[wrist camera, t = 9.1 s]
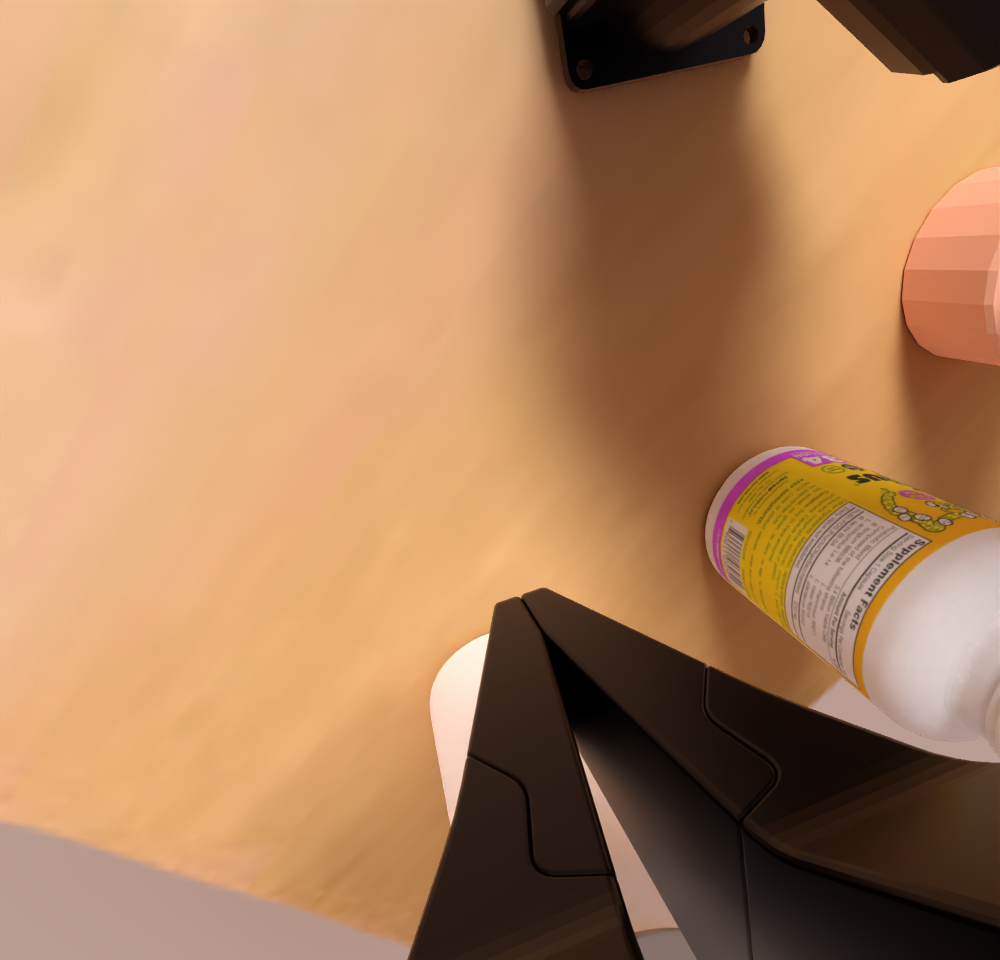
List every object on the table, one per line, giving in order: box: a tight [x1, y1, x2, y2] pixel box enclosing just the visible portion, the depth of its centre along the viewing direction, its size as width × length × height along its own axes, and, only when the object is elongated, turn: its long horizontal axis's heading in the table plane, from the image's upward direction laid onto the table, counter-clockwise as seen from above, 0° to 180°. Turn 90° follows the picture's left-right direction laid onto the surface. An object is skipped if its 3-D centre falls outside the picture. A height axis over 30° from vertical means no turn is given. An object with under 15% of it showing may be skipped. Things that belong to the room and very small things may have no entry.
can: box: [430, 633, 697, 960], centre depth 20 cm, size 6×6×12 cm
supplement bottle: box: [705, 446, 1000, 758], centre depth 19 cm, size 7×7×13 cm
